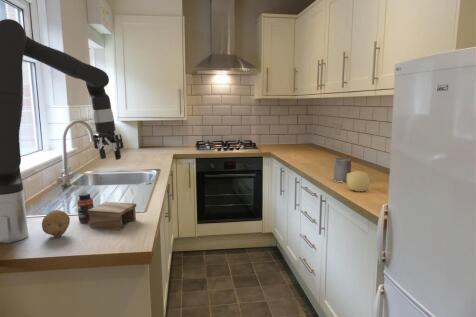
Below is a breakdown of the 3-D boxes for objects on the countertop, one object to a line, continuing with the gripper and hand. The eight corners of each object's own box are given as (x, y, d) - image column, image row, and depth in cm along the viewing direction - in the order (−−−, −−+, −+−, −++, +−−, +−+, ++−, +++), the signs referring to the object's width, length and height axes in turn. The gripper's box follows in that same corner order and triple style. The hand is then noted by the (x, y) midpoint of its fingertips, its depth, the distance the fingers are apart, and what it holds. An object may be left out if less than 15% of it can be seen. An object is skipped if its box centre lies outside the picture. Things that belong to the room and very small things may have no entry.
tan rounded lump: (364, 187, 195) (365, 168, 193) (372, 193, 183) (373, 173, 181) (343, 187, 195) (344, 168, 193) (350, 193, 183) (351, 173, 181)
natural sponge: (64, 241, 122) (62, 214, 120) (38, 242, 121) (35, 215, 120) (74, 232, 131) (72, 206, 129) (50, 233, 130) (47, 207, 129)
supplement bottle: (96, 218, 147) (94, 192, 145) (91, 223, 141) (89, 195, 139) (82, 218, 146) (80, 192, 145) (76, 223, 141) (74, 196, 139)
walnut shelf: (121, 230, 132) (119, 212, 131) (88, 227, 136) (87, 210, 134) (137, 220, 144) (136, 203, 143) (106, 217, 147) (105, 201, 146)
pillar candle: (346, 179, 216) (346, 155, 214) (353, 182, 207) (354, 157, 204) (331, 180, 215) (331, 155, 212) (337, 183, 205) (338, 158, 203)
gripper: (84, 122, 142) (91, 160, 146) (109, 121, 136) (116, 161, 140) (99, 119, 149) (105, 156, 153) (123, 118, 142) (130, 157, 146)
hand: (110, 158), depth 146 cm, fingers open, 8 cm apart
